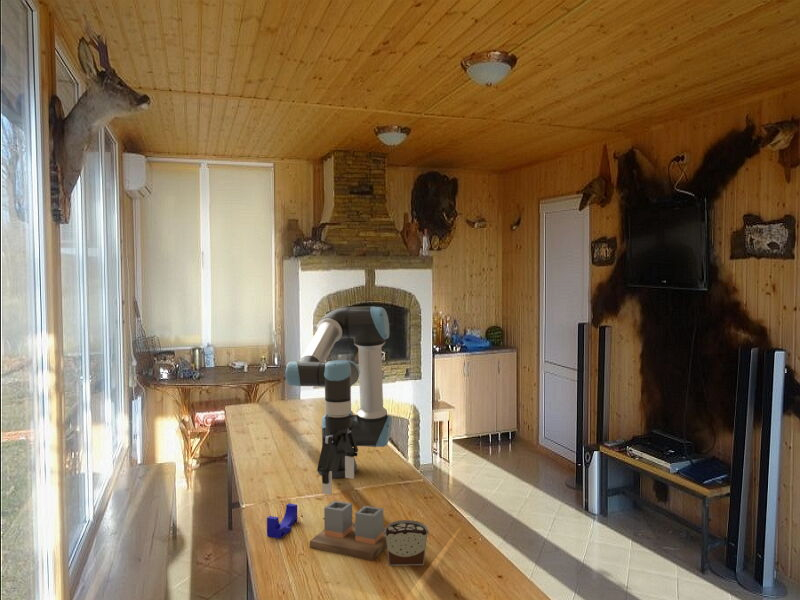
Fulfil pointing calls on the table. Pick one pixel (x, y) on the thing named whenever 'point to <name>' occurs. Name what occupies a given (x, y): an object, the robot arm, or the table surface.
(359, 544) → the pin board
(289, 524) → the cable clip
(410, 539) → the brown grey rounded block
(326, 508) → the sleeve
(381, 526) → the seated sleeve
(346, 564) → the table surface
